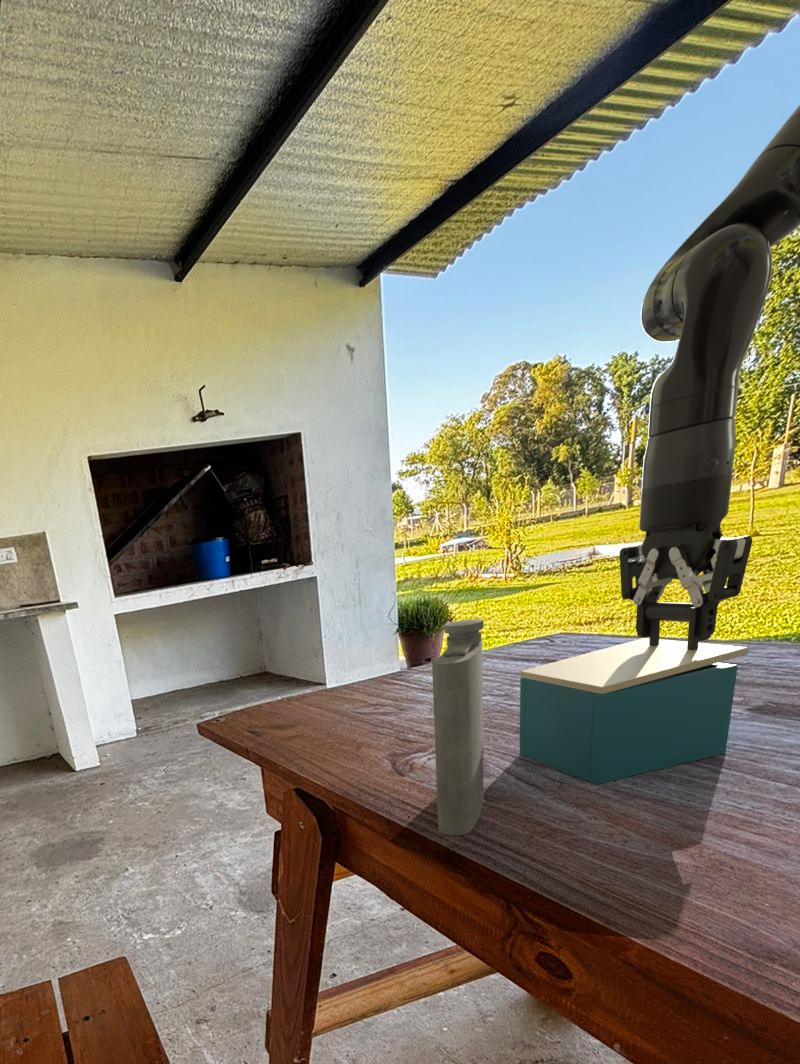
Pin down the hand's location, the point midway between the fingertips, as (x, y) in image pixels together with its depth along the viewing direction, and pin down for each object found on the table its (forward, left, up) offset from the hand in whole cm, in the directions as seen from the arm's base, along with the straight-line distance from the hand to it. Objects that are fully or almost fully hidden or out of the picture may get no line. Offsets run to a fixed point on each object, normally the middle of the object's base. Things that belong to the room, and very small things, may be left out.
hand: (672, 637), depth 70 cm
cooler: (+6, 0, -13) cm, 14 cm away
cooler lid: (+6, 0, -2) cm, 6 cm away
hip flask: (+28, +4, -13) cm, 31 cm away
